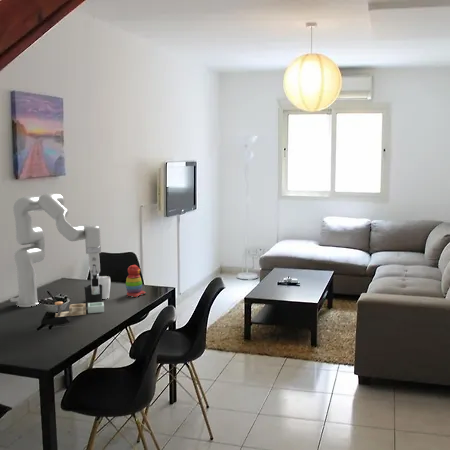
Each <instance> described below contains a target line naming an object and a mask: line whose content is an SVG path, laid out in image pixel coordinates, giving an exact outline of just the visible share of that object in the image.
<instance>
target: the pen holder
mask: <svg viewBox="0 0 450 450" xmlns="http://www.w3.org/2000/svg"><path fill="white" fill-rule="evenodd" d="M83 289H84V299H85V303H86V305H88V303H97V302H103V300H102V285H101V284H99V289H100V294H96V295H93V294H92V289H91V284H89V285H87V286H84V288H83Z"/></svg>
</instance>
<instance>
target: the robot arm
mask: <svg viewBox="0 0 450 450" xmlns="http://www.w3.org/2000/svg"><path fill="white" fill-rule="evenodd" d="M64 205H65V199H64V197H63V195H61V194H60V193H57V192H52V193H44V194H35V195H27V196H26V195H25V196H21V197H19V198H17V199H16V200H15V201H14V203H13V207H12V208H13V215H14V222H15V223H14V225H15V240H16V242H17V244H18V245H20V246H24V247H21V248H18V249H17V250H16V251H15V253H14V255H13V258H14V259H13V260H14V263H15V267H16V275H17V289H18V292H17V293H18V296H17V297H16V298H15V297H12V298H10V299H9V300H10V302H11V303H16V304H15V306H16V305H17V306H16V307H18V306H19V307H18V308H31V306H32V307H36V305H37V306H39V305H40V304H39V302H38V300H39V299H38V288H37V271H36V269H35V267H34V265H33V264H36V263H39V262H42V261H43V260H44V259H45V257H46V243H45V242H46V239H45V233H44V230H43V229H42V228H41V227H40V226H39V225H33V219H32V216H31V215H30V213H31V212H32V213H33V212H40V211H41V212H42V211H43V212H45V213H46V214H47V215H48V216H49V217H51V218H52V219H53V221H55V226H56V228H57V231H58V232H59V234H61V235H62V236H63V237H64V238H65V239H66V240H68V241H70V242H77V241H78V242H79V241H82V240H85V244H84V245H85V254H86V255H88V265H89V271H90V274H91V273H92V287H96V286H98V277H97V272H99V274H100V273H101V263H100V259H101V258H100V254H102V247H101V246H102V244H101V229H100V226H99V225H87V224H80V225H73V226H72V225H71V223H69V222H68V221H67V219H66V218H67V217H68V215H69V209H67V208H66V207H65V206H64ZM27 245H28V246H27ZM92 271H93V272H92ZM96 271H97V272H96ZM38 304H39V305H38Z"/></svg>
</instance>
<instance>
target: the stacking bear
mask: <svg viewBox="0 0 450 450" xmlns="http://www.w3.org/2000/svg"><path fill="white" fill-rule="evenodd" d="M127 273H128V275H127V277H126V279H125V280H126V281H125V288H126V294H127V295H128V296H133V297H137V296H139V295H141V294H144V293H146V294H147V292H146V291H144V290H142V289H143V281H142V278H141V275H140V274H141V269H140V267H139V266H138V265H136V264H132V265H130V266H128V268H127ZM128 296H127V297H128Z"/></svg>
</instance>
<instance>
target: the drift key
mask: <svg viewBox="0 0 450 450" xmlns="http://www.w3.org/2000/svg"><path fill="white" fill-rule="evenodd" d="M63 304H64V302H63V301H62V300H61V301H55V302H54V305H55V311H56V312H58V305H60V311H61V312H63Z"/></svg>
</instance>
